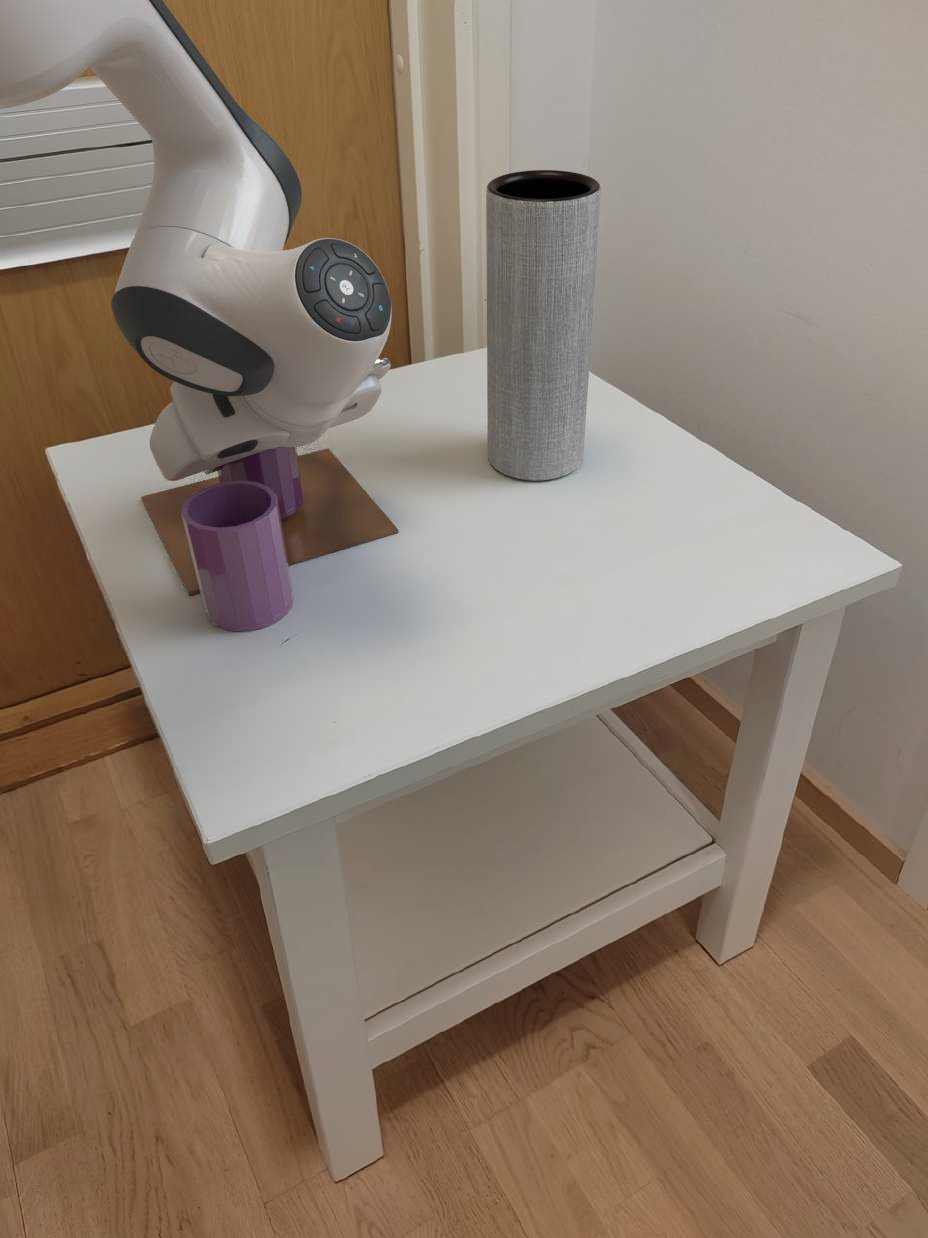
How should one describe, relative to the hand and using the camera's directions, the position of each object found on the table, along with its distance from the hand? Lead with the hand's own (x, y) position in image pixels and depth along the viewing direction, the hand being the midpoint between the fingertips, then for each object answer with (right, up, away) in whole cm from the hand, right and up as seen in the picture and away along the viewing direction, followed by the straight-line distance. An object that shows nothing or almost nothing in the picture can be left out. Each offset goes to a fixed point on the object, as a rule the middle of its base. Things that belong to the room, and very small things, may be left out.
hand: (252, 450), depth 89 cm
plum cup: (0, -5, +3) cm, 5 cm away
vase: (+27, +1, +12) cm, 30 cm away
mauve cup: (+1, -14, -7) cm, 16 cm away
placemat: (0, -6, +4) cm, 7 cm away
